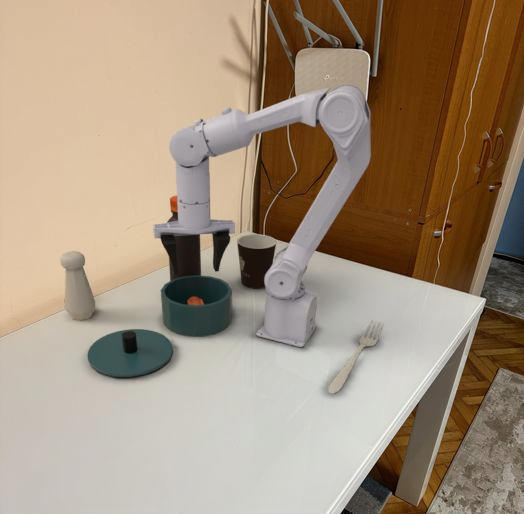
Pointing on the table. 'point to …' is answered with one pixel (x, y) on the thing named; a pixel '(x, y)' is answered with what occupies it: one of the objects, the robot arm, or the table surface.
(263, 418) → the table surface
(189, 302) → the hot dog
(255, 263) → the coffee mug
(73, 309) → the salt shaker
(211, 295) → the pot
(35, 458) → the table surface
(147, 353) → the pot lid
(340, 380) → the fork
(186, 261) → the bottle
